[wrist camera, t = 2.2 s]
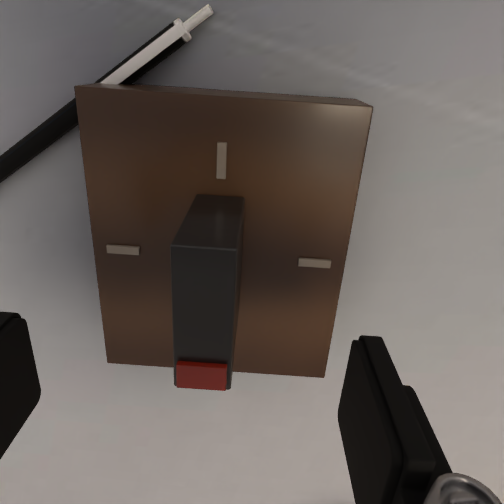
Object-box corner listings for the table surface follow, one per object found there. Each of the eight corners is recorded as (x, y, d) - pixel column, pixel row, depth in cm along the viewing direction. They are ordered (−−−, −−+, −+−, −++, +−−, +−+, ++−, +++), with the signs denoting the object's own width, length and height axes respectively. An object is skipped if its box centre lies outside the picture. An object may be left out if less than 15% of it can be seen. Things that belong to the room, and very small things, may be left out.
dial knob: (196, 193, 16) (167, 248, 12) (245, 196, 16) (237, 253, 12) (195, 307, 19) (172, 391, 14) (238, 310, 19) (229, 395, 14)
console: (103, 81, 17) (71, 86, 15) (357, 98, 17) (375, 106, 15) (125, 327, 23) (105, 365, 20) (317, 340, 23) (324, 380, 20)
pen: (218, 20, 16) (215, 17, 15) (-79, 243, 21) (-96, 253, 20) (206, -2, 16) (201, -6, 15) (-93, 230, 21) (-111, 239, 20)
